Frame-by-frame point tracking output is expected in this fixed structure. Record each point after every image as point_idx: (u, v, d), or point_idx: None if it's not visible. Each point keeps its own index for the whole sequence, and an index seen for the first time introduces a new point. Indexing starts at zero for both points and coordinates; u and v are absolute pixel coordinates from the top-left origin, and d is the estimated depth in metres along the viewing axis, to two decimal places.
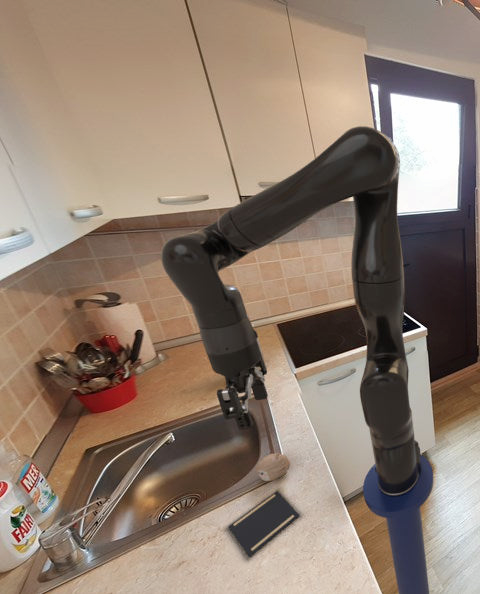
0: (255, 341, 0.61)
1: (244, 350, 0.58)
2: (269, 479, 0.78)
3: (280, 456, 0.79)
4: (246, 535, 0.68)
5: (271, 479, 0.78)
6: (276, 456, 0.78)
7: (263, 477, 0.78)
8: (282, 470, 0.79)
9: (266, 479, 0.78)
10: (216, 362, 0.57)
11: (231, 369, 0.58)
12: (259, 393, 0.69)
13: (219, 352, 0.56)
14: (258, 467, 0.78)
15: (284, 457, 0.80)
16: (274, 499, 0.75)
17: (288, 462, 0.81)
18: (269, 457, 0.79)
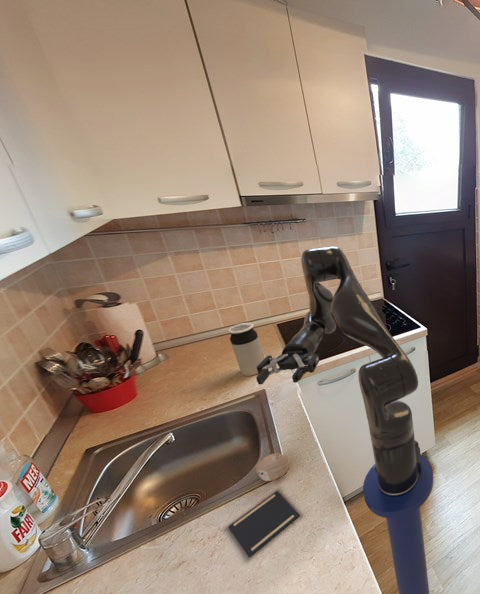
0: (299, 337, 0.96)
1: (290, 340, 0.96)
2: (269, 479, 0.78)
3: (280, 456, 0.79)
4: (246, 535, 0.68)
5: (271, 479, 0.78)
6: (276, 456, 0.78)
7: (263, 477, 0.78)
8: (282, 470, 0.79)
9: (266, 479, 0.78)
10: None
11: None
12: None
13: None
14: (258, 467, 0.78)
15: (284, 457, 0.80)
16: (274, 499, 0.75)
17: (288, 462, 0.81)
18: (269, 457, 0.79)
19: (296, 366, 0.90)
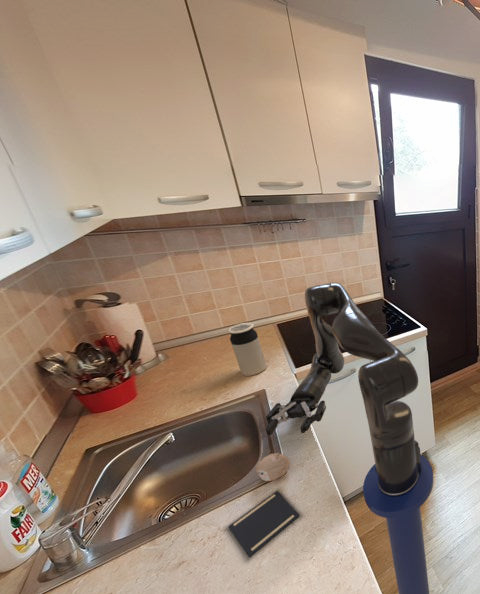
0: (307, 383, 0.99)
1: (298, 386, 0.99)
2: (269, 479, 0.78)
3: (280, 456, 0.79)
4: (246, 535, 0.68)
5: (271, 479, 0.78)
6: (276, 456, 0.78)
7: (263, 477, 0.78)
8: (282, 470, 0.79)
9: (266, 479, 0.78)
10: None
11: None
12: None
13: None
14: (258, 467, 0.78)
15: (284, 457, 0.80)
16: (274, 499, 0.75)
17: (288, 462, 0.81)
18: (269, 457, 0.79)
19: (304, 414, 0.93)
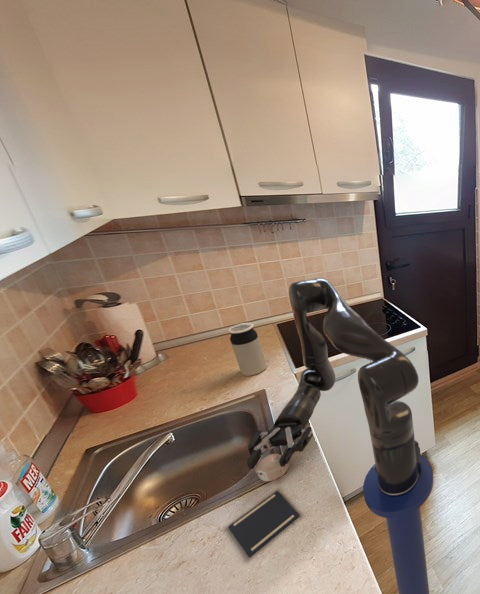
0: (293, 405, 0.90)
1: (283, 409, 0.90)
2: (268, 479, 0.78)
3: (279, 456, 0.79)
4: (246, 535, 0.68)
5: (270, 479, 0.78)
6: (275, 456, 0.78)
7: (262, 477, 0.78)
8: (281, 471, 0.79)
9: (265, 479, 0.78)
10: None
11: None
12: None
13: None
14: (257, 467, 0.78)
15: None
16: (274, 499, 0.75)
17: (287, 463, 0.81)
18: (268, 457, 0.79)
19: None
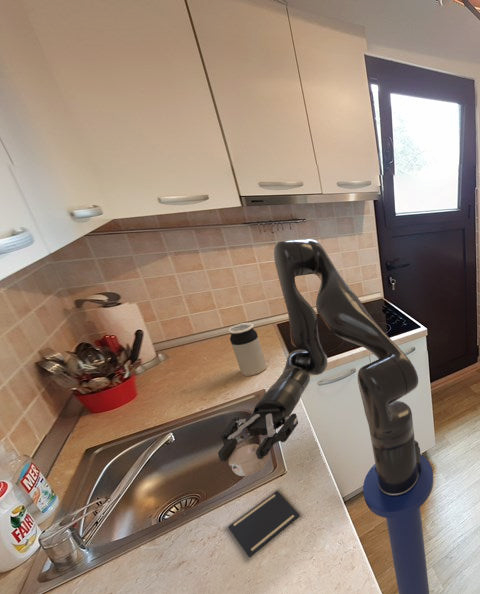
0: (276, 389, 0.78)
1: (265, 393, 0.78)
2: (244, 474, 0.66)
3: (257, 447, 0.67)
4: (246, 535, 0.68)
5: (246, 474, 0.66)
6: (251, 447, 0.66)
7: (236, 471, 0.66)
8: (259, 464, 0.67)
9: (240, 474, 0.66)
10: None
11: None
12: None
13: None
14: (231, 460, 0.66)
15: None
16: (274, 499, 0.75)
17: (267, 454, 0.69)
18: (244, 448, 0.67)
19: None
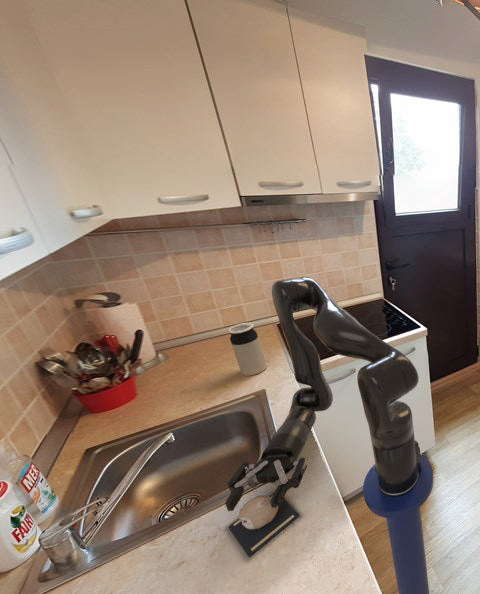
0: (283, 433, 0.79)
1: (272, 438, 0.79)
2: (253, 528, 0.67)
3: (267, 501, 0.68)
4: (246, 535, 0.68)
5: (256, 527, 0.68)
6: (261, 501, 0.67)
7: (246, 525, 0.67)
8: (269, 517, 0.69)
9: (250, 528, 0.67)
10: None
11: None
12: None
13: None
14: (241, 513, 0.67)
15: None
16: None
17: None
18: (254, 502, 0.68)
19: (277, 478, 0.73)
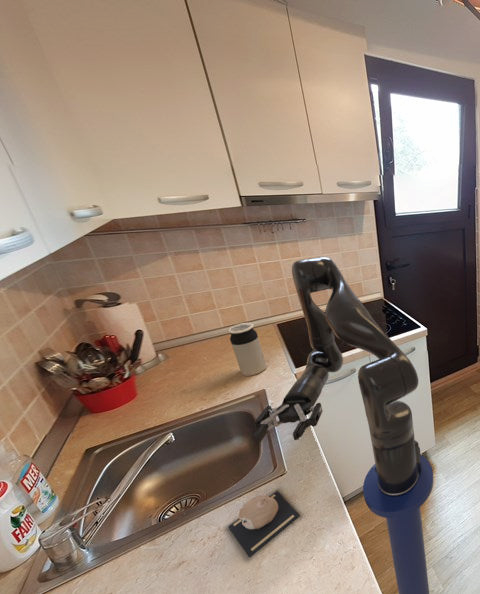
0: (301, 383, 0.89)
1: None
2: (253, 528, 0.67)
3: (267, 501, 0.68)
4: (246, 535, 0.68)
5: (256, 527, 0.68)
6: (261, 501, 0.67)
7: (246, 525, 0.67)
8: (269, 517, 0.69)
9: (250, 528, 0.67)
10: None
11: None
12: None
13: None
14: (241, 513, 0.67)
15: (271, 501, 0.69)
16: None
17: (276, 506, 0.70)
18: (254, 502, 0.68)
19: (297, 419, 0.82)
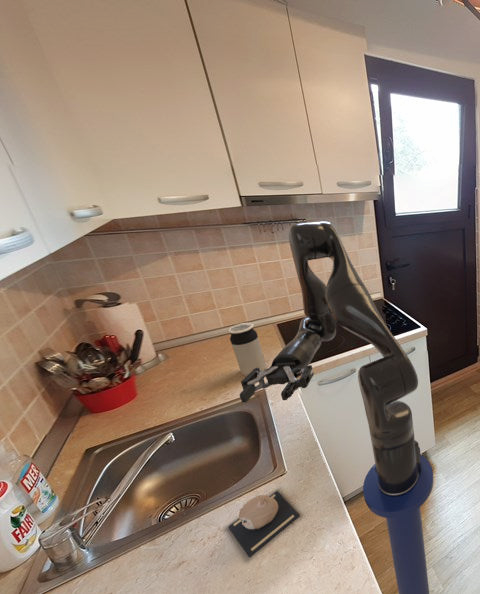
0: (292, 346, 0.85)
1: None
2: (253, 528, 0.67)
3: (267, 501, 0.68)
4: (246, 535, 0.68)
5: (256, 527, 0.68)
6: (261, 501, 0.67)
7: (246, 525, 0.67)
8: (269, 517, 0.69)
9: (250, 528, 0.67)
10: None
11: None
12: None
13: None
14: (241, 513, 0.67)
15: (271, 501, 0.69)
16: None
17: (276, 506, 0.70)
18: (254, 502, 0.68)
19: (287, 380, 0.78)
